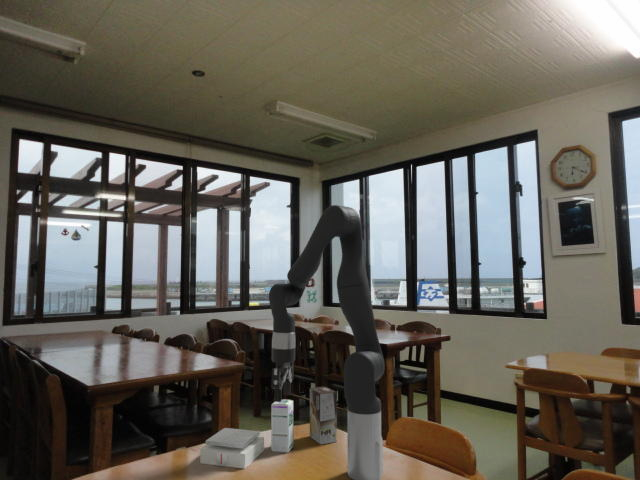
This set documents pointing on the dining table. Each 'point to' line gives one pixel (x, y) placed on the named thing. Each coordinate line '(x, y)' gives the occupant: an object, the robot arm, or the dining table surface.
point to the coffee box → (323, 415)
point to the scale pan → (233, 438)
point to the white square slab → (232, 454)
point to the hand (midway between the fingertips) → (282, 398)
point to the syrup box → (282, 426)
